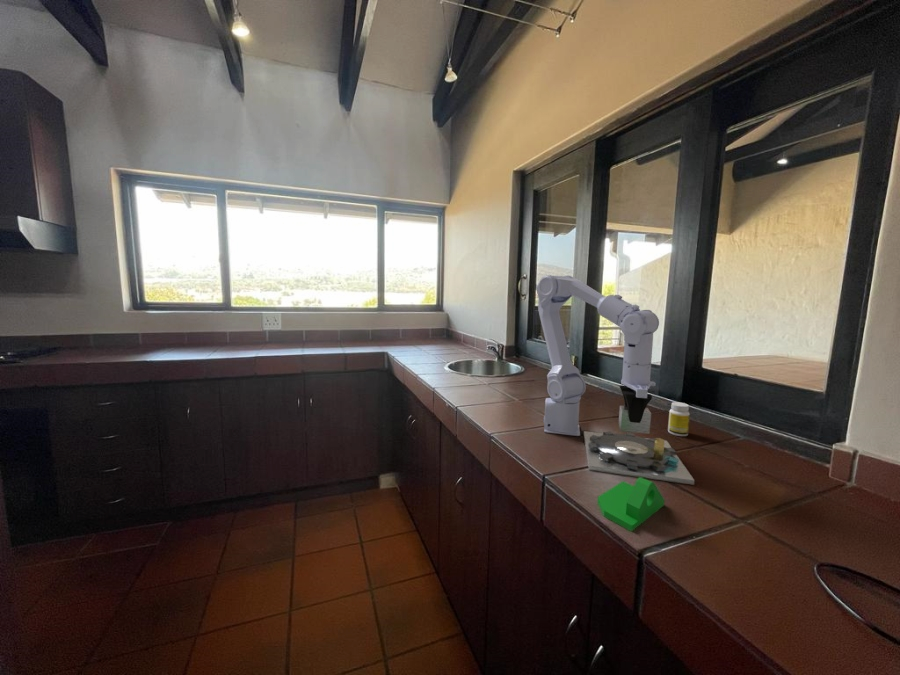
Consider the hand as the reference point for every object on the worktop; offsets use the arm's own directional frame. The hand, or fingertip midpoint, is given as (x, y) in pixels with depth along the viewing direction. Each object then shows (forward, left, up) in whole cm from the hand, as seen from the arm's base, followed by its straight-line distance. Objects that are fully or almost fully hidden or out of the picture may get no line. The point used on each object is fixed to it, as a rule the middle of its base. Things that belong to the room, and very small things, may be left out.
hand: (633, 419), depth 82 cm
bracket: (-4, -22, -10) cm, 25 cm away
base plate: (0, 0, -9) cm, 9 cm away
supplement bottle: (+15, +19, -10) cm, 26 cm away
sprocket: (0, 0, -8) cm, 8 cm away
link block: (0, 0, -3) cm, 3 cm away
